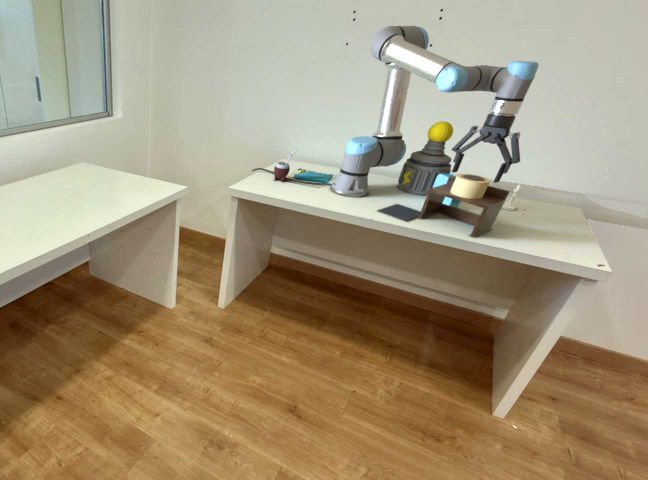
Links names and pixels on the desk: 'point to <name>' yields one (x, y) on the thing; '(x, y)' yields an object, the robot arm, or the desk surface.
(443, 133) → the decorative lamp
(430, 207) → the desk shelf
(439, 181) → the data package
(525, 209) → the desk surface
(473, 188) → the tape roll
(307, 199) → the desk surface
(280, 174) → the mate gourd
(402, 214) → the desk mat
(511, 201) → the chess piece
